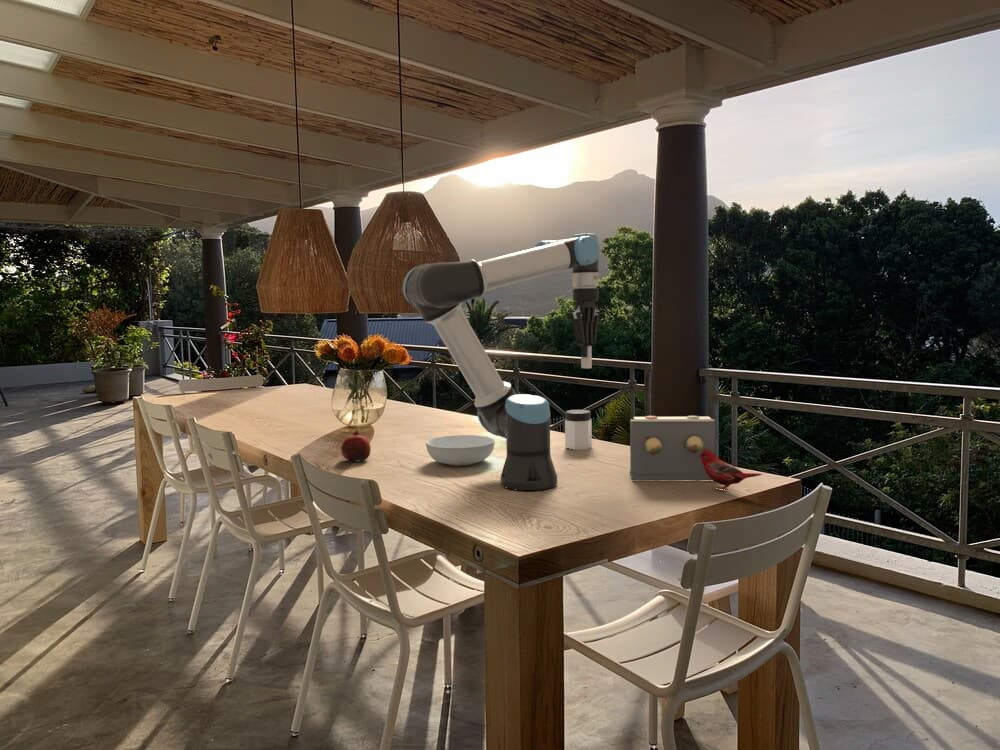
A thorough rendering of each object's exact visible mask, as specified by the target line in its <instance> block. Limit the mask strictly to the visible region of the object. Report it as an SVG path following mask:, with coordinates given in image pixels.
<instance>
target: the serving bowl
mask: <svg viewBox="0 0 1000 750" xmlns="http://www.w3.org/2000/svg"><path fill="white" fill-rule="evenodd" d="M425 447H426V451H427V453H428V455H429V456H430V458H432V459H433V460H434V461H436V462H438V463H439V464H440V463H441V464H445V465H447V464H449V465H448V466H452V465H466V466H470V465H469V464H471V465H474V464H476V463H479V462H480V463H481V462H482V461H485V460H486V459H487V458H489V456H491V454H492V453H493V451H494V448H495V439H494V438H492V437H489V436H485V435H475V434H474V435H473V434H455V435H442V436H436V437H433V438H430V439H428V440H426V441H425ZM473 463H474V464H473Z"/></svg>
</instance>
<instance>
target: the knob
mask: <svg viewBox="0 0 1000 750" xmlns="http://www.w3.org/2000/svg"><path fill="white" fill-rule="evenodd" d="M685 445H686V447H687V449H688V450H689V451H690V452H693V453H696V452H699V451H700V450H701V449H702V448H703V441H702V439H701V438H700V437H698V436H696V435H691V436H689V437H687V439H686V442H685Z"/></svg>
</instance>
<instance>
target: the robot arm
mask: <svg viewBox="0 0 1000 750" xmlns="http://www.w3.org/2000/svg"><path fill="white" fill-rule="evenodd" d="M600 253H601V249H600V244H599V237H598V236H597V234H595V233H576V234H573V235H572V237H571V238H565V239H564V238H563V239H557V240H549V239H547V240H540V241H538V242H537V243H536V244H535V247H533V248H530V249H525V250H524V249H523V250H521V251H517V252H516V251H515V252H512V253H508V254H505V255H502V256H496V257H492V258H488V259H484V260H480V261H477V260H475V259H468V260H467V259H466V260H462V261H452V262H435V263H421V264H419V265H418V266H415V267H413V268H412V269H410V270H409V271H408V272H407V274H406V276H405V277H404V280H403V283H402V284H403V285H402V292H403V296H404V298H405V300H406V301H407V303H409V305H411V306H412V307H413V308H416V309H417V311H418V312H419V313H418V314H419V315H420V316H421V318H422V319H423V321H424V322H425V323H426V324H429V325H430V324H431V325H433V327H434V329H435V330H436V332H437V333H438V335H439V337H440V339H441V340H442V342H443V343H444V345H445V348H447V350H448V352H449V353H450V355H451V357H452V359H453V360H454V363H455V364H456V365H457V367H458V369H459V371H460V372H461V374H462V376H463V377H464V379H465V381H466V382H467V385H469V387H470V389H471V391H472V392H473V394H474V397H475V399H474V403H473V404H474V406H475V408H476V410H477V418H478V421H479V424H480V425H481V427H483V429H484V430H486V431H487V432H489V433H490V434H492V435H494V436H496V437H501V438H502V439H506V458H505V460H504V464H503V468H502V470H501V474H500V485H501V486H502V485H503V486H504V487H503V486H502V487H503V488H505V487H507V488H510V489H509V490H511V489H516V490H515V491H518V490H538V491H541V490H540V489H545V490H548V489H547V488H549V489H552V488H555V487H556V486H557V485H558V474H557V472H556V469H555V466H554V462H553V460H552V457H551V410H550V403H549V401H548V400H547V399H546V398H545V397H542V396H539V395H536V394H535V395H532V394H527V393H519V394H517V393H516V392H515V389H514V388H513V386H512V384H511V382H507V381H505V380H502V377H501V376H500V374H499V373H498V371H497V370H496V367H495V365H494V364H493V362H492V360H491V359H490V357H489V355H488V353H487V351H486V350H485V348H484V346H483V345H482V343H481V342H480V339H479V338H478V336H477V335H476V332H475V331H474V329H473V327H472V326H471V324H470V322H469V321H468V318H467V317H466V316H465V315H466V314H465V313H464V311H463V310H462V306H463V303H464V302H467V301H471V300H473V299H477V298H480V297H483V296H484V294H485V292H488V291H492V290H494V289H498V288H502V287H505V286H509V285H512V284H516V283H520V282H524V281H529V280H531V279H535V278H539V277H542V276H547V275H550V274H553V273H557V272H560V271H564V270H568V269H572V287H574V288H573V290H572V301H574V302H576V306H575V311H574V312H573V311H572V312H571V313H570V316H571V319H572V323H573V331H574V337H575V343H576V345H577V347H580V363H581V364H580V365H581V366H580V368H581V369H592V368H593V367H592V364H593V361H592V357H593V356H592V353H593V351H592V346H593V347H595V346H596V343H597V336H598V327H599V320H600V319H599V318H600V315H601V311H600V310H597V309H596V307H597V306H596V302H598V301H599V299H600V296H599V295H600V292H599V291H600V290H599V288H597V287H599V279H600V276H599V258H600V255H601V254H600ZM556 484H557V485H556ZM555 485H556V486H555ZM551 487H552V488H551ZM507 488H506V489H507Z"/></svg>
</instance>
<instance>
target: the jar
mask: <svg viewBox="0 0 1000 750" xmlns="http://www.w3.org/2000/svg"><path fill="white" fill-rule="evenodd" d="M591 413H592V412H591V411H590V410H588V409H587V410H586V409H570V410H566V411H565V419H564V447H565V448H564V449H567V448H569V449H568V450H571V449H573V451H587V450H589V449H591V448H592V447H591V446H593V443H592V442H593V441H592V440H593V439H592V435H593V434H592V432H593V431H592V428H593V427H592V426H593V425H592V423H593V421H592V418H591V416H592V414H591Z"/></svg>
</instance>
